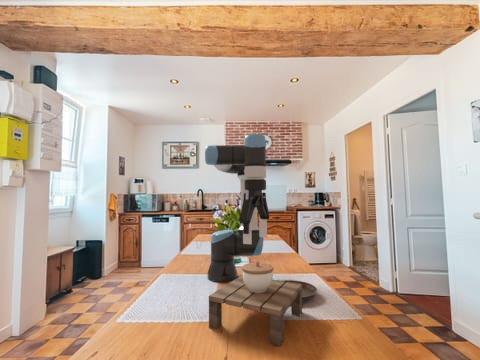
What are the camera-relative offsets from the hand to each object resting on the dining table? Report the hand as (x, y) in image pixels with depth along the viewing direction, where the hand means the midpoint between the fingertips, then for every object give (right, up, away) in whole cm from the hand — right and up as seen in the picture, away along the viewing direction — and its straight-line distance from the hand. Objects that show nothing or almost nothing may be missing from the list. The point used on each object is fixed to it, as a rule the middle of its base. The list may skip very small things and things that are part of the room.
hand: (255, 240), depth 93 cm
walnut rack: (+1, -27, -2) cm, 27 cm away
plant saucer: (+16, -28, +20) cm, 38 cm away
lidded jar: (+1, -17, -1) cm, 17 cm away
